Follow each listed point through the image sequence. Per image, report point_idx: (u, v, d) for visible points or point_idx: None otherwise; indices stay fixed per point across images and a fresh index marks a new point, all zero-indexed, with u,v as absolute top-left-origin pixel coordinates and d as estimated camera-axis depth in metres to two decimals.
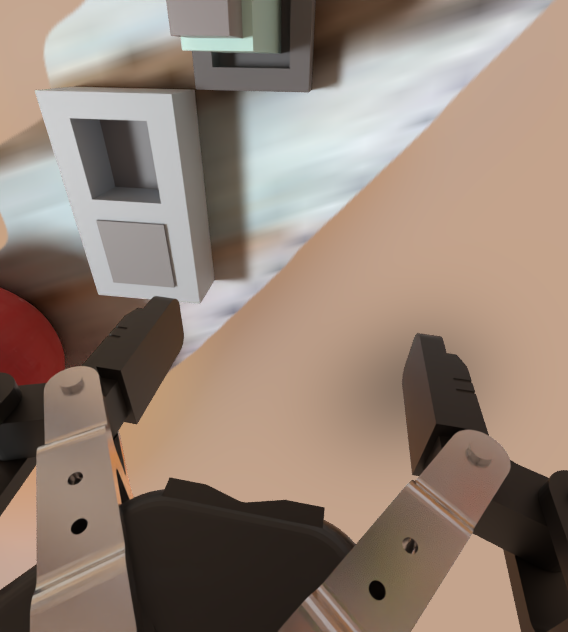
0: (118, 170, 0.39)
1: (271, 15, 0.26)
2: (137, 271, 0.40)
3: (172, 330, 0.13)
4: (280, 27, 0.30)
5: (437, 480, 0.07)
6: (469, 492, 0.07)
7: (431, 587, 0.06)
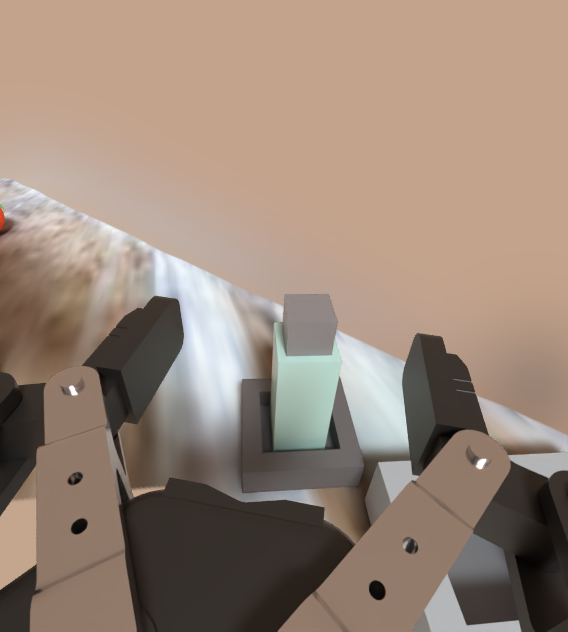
0: None
1: None
2: None
3: (172, 330, 0.13)
4: None
5: (437, 480, 0.07)
6: (469, 492, 0.07)
7: (431, 587, 0.06)
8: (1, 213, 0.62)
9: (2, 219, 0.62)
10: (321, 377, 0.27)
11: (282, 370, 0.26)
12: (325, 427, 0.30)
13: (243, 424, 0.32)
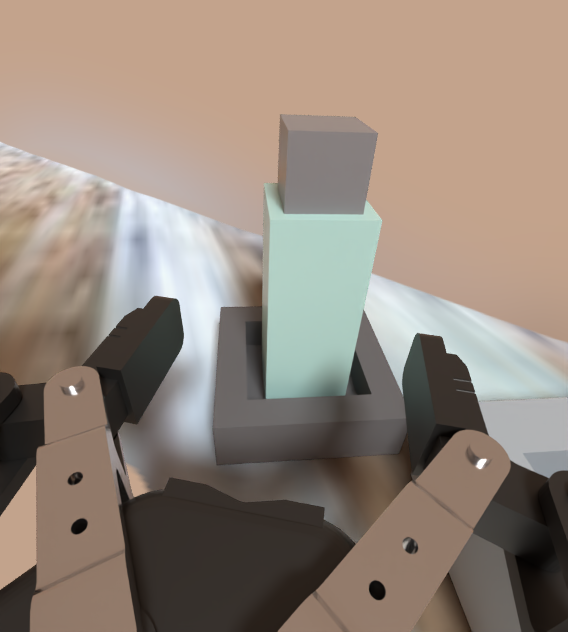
0: None
1: None
2: None
3: (172, 330, 0.13)
4: None
5: (437, 480, 0.07)
6: (469, 492, 0.07)
7: (431, 587, 0.06)
8: None
9: None
10: (345, 256, 0.15)
11: (277, 238, 0.15)
12: (348, 358, 0.19)
13: (219, 361, 0.21)
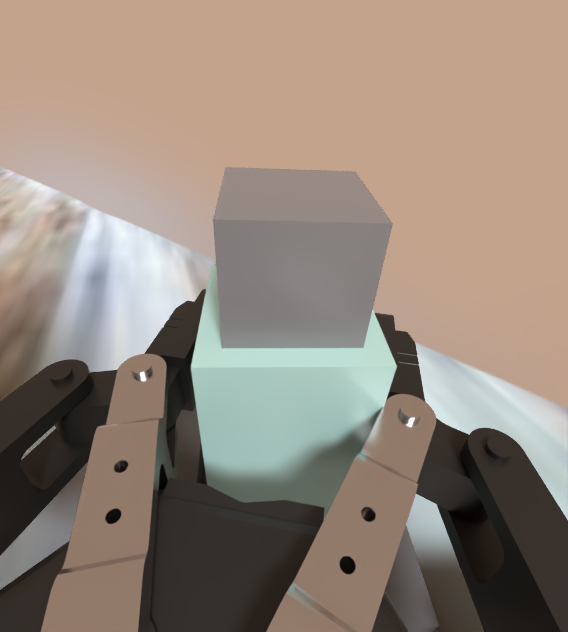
0: None
1: None
2: None
3: None
4: None
5: (379, 447, 0.08)
6: (407, 450, 0.08)
7: (393, 546, 0.06)
8: None
9: None
10: (331, 414, 0.09)
11: (208, 391, 0.08)
12: None
13: None
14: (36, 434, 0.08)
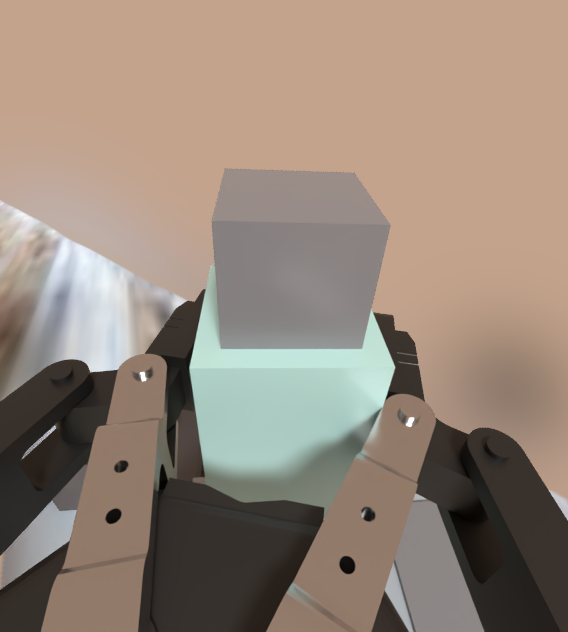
0: None
1: None
2: None
3: None
4: None
5: (378, 447, 0.08)
6: (407, 450, 0.08)
7: (393, 546, 0.06)
8: None
9: None
10: (329, 415, 0.09)
11: (207, 392, 0.08)
12: None
13: None
14: (36, 434, 0.08)
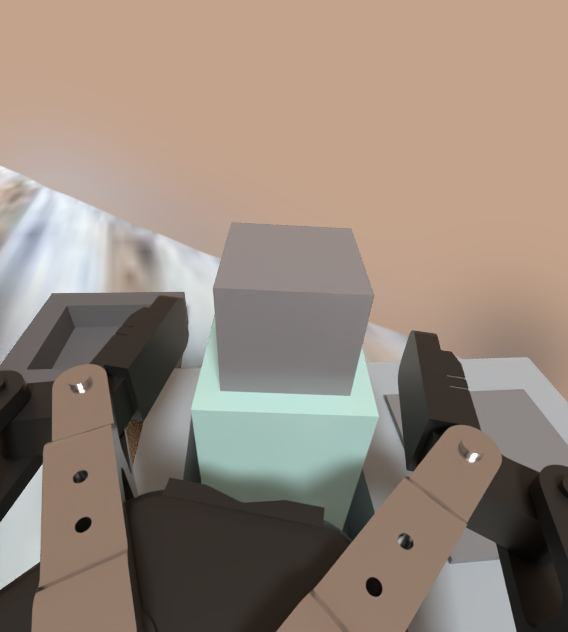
0: None
1: None
2: (543, 462, 0.15)
3: (177, 329, 0.13)
4: None
5: (430, 475, 0.08)
6: (462, 486, 0.07)
7: (427, 581, 0.06)
8: None
9: None
10: (319, 453, 0.10)
11: (206, 430, 0.09)
12: None
13: (21, 339, 0.24)
14: None
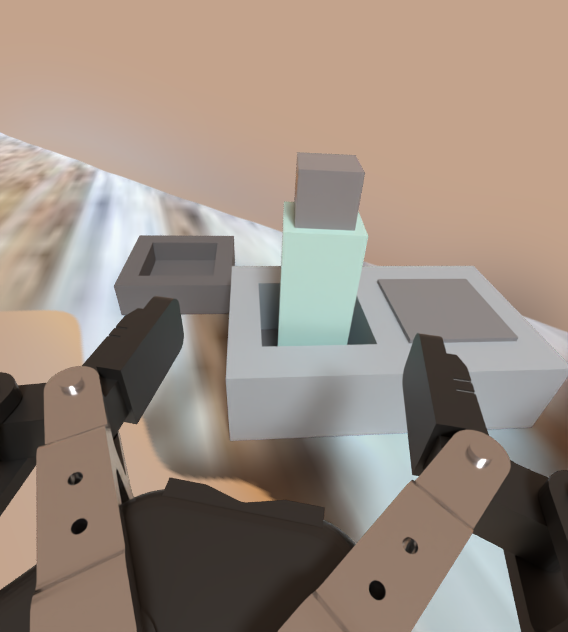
0: None
1: None
2: (469, 308, 0.26)
3: (172, 330, 0.13)
4: None
5: (437, 480, 0.07)
6: (469, 492, 0.07)
7: (431, 587, 0.06)
8: None
9: None
10: (340, 262, 0.20)
11: (288, 245, 0.20)
12: (343, 342, 0.24)
13: (128, 260, 0.34)
14: None
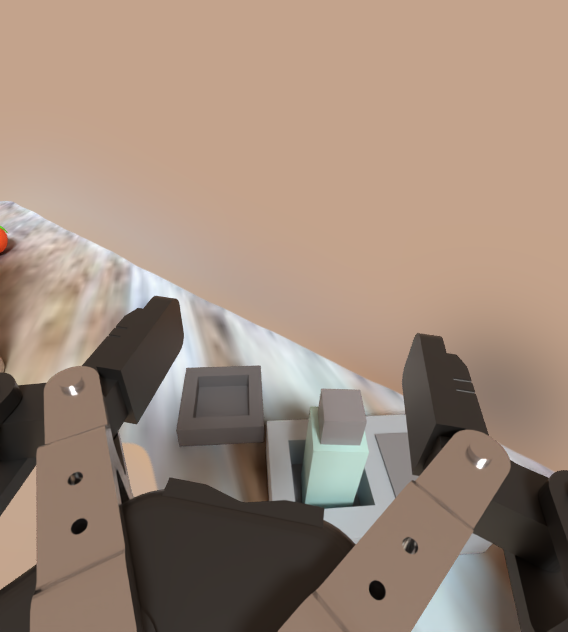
0: None
1: None
2: None
3: (172, 330, 0.13)
4: None
5: (437, 480, 0.07)
6: (469, 492, 0.07)
7: (431, 587, 0.06)
8: (5, 235, 0.74)
9: (6, 240, 0.74)
10: (350, 463, 0.31)
11: (316, 456, 0.30)
12: (351, 499, 0.34)
13: (182, 399, 0.45)
14: None
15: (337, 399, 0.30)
